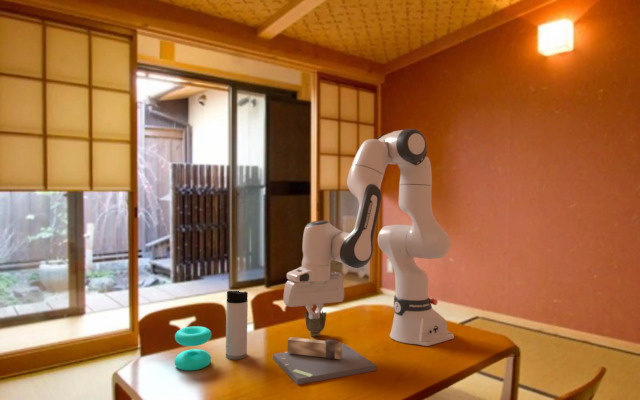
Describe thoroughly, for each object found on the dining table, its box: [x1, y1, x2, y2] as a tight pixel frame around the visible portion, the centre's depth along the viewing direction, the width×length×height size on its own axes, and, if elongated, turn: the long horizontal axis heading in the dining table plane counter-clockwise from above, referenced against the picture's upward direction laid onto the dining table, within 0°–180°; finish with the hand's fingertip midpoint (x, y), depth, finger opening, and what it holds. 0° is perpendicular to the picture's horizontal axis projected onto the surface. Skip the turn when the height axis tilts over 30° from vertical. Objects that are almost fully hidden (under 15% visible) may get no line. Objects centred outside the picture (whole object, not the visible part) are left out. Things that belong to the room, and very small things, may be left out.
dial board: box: [272, 343, 377, 386], centre depth 128 cm, size 24×19×2 cm
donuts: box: [174, 325, 212, 371], centre depth 126 cm, size 10×10×10 cm
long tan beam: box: [287, 336, 343, 359], centre depth 131 cm, size 16×4×4 cm, turn 75°
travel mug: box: [225, 290, 249, 360], centre depth 134 cm, size 6×7×20 cm
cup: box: [304, 310, 327, 338], centre depth 154 cm, size 8×7×8 cm
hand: (314, 318), depth 137 cm, fingers closed
